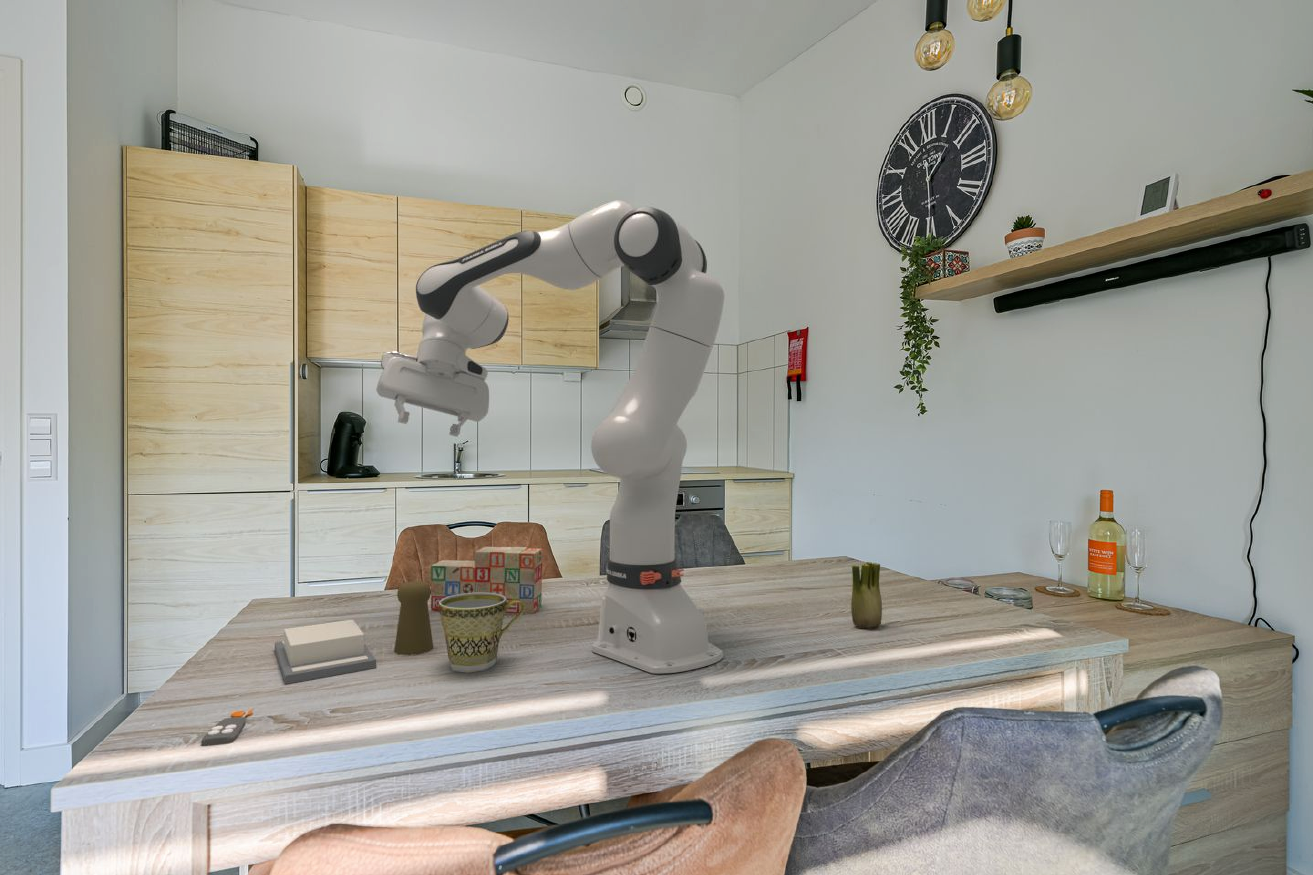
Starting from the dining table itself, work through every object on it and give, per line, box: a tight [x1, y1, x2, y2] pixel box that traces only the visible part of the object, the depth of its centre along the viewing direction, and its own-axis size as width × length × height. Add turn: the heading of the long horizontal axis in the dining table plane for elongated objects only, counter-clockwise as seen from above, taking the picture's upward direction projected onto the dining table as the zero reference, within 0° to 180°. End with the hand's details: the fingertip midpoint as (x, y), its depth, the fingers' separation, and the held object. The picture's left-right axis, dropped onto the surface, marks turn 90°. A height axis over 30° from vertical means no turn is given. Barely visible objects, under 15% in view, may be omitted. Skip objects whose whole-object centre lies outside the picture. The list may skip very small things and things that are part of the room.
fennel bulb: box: [850, 561, 883, 630], centre depth 121 cm, size 6×5×12 cm
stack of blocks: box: [430, 546, 543, 615], centre depth 133 cm, size 21×6×12 cm, turn 85°
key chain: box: [200, 704, 259, 747], centre depth 80 cm, size 13×4×2 cm, turn 16°
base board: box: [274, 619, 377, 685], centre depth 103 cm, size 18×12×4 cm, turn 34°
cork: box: [393, 580, 434, 656], centre depth 108 cm, size 6×6×11 cm
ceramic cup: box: [439, 592, 524, 674], centre depth 101 cm, size 13×10×10 cm
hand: (429, 428), depth 120 cm, fingers open, 8 cm apart
